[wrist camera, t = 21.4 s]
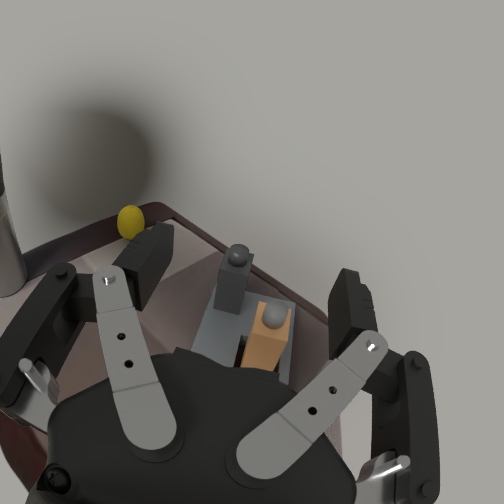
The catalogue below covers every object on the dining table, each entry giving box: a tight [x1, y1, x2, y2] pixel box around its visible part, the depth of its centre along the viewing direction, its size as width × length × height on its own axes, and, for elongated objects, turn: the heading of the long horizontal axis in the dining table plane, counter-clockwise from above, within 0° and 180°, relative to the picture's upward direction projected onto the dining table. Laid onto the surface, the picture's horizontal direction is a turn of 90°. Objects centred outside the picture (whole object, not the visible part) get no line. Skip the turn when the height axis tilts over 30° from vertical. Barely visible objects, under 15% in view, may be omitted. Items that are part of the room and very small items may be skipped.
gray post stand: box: [191, 244, 296, 385], centre depth 39 cm, size 14×17×12 cm
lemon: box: [117, 205, 144, 240], centre depth 55 cm, size 6×6×8 cm
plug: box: [240, 300, 291, 371], centre depth 36 cm, size 4×5×13 cm
